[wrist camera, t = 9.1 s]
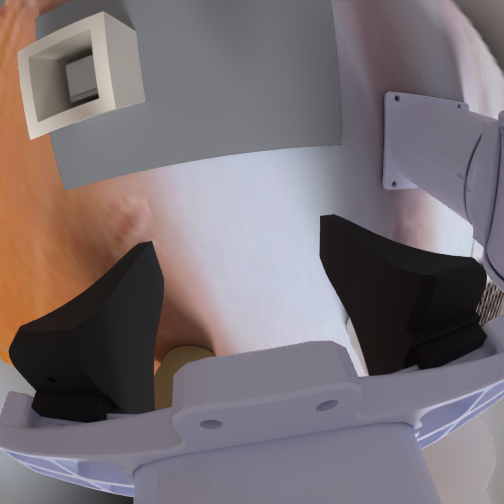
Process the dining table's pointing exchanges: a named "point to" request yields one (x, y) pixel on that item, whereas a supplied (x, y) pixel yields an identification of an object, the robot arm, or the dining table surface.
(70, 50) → the sleeve
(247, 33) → the base plate
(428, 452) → the bottle
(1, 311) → the dining table surface
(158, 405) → the squeeze bottle
